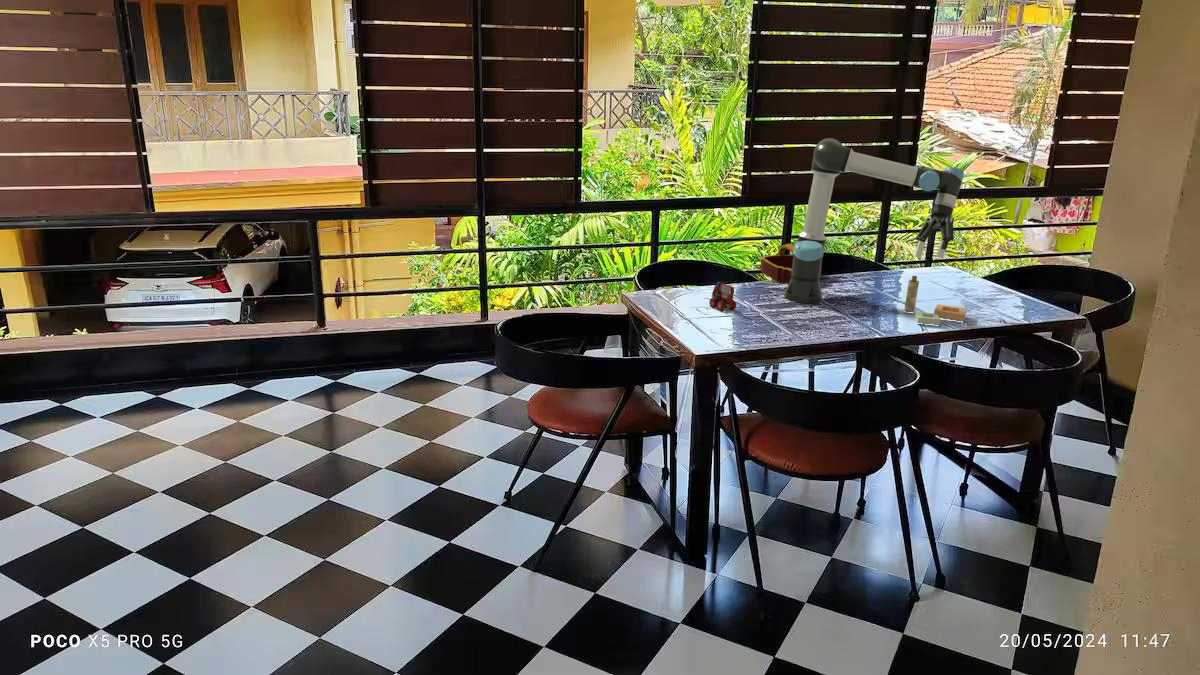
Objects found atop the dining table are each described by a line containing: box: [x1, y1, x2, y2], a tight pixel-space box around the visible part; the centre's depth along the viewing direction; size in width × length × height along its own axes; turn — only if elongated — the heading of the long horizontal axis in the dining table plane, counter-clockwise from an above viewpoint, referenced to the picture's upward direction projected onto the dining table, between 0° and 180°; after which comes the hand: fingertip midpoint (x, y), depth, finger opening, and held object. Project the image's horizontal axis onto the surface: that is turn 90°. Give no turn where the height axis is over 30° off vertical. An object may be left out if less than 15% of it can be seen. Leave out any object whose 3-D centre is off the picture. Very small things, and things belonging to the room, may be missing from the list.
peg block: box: [903, 275, 920, 313], centre depth 335 cm, size 4×4×15 cm
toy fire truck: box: [709, 281, 737, 312], centre depth 331 cm, size 7×12×10 cm, turn 27°
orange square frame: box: [933, 304, 968, 322], centre depth 331 cm, size 11×11×4 cm
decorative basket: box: [760, 243, 823, 284], centre depth 390 cm, size 34×29×15 cm
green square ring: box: [914, 311, 942, 325], centre depth 323 cm, size 8×8×3 cm
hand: (928, 257), depth 336 cm, fingers open, 13 cm apart
